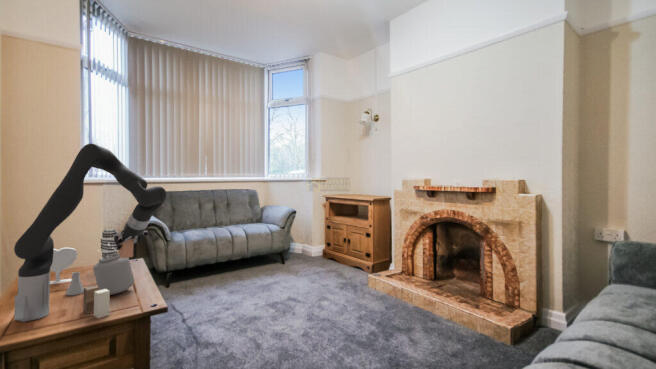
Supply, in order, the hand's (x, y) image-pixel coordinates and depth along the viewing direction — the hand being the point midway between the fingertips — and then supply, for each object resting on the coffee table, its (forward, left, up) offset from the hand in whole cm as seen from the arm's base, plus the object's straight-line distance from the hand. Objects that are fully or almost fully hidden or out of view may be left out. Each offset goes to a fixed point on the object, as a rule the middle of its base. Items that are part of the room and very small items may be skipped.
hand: (124, 247), depth 136 cm
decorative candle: (+34, +58, -26) cm, 73 cm away
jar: (+8, +19, -26) cm, 34 cm away
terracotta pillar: (-1, -2, -4) cm, 5 cm away
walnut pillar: (-10, +6, -26) cm, 28 cm away
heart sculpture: (+8, +60, -26) cm, 66 cm away
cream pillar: (-11, -2, -26) cm, 28 cm away
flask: (+1, +34, -26) cm, 43 cm away
